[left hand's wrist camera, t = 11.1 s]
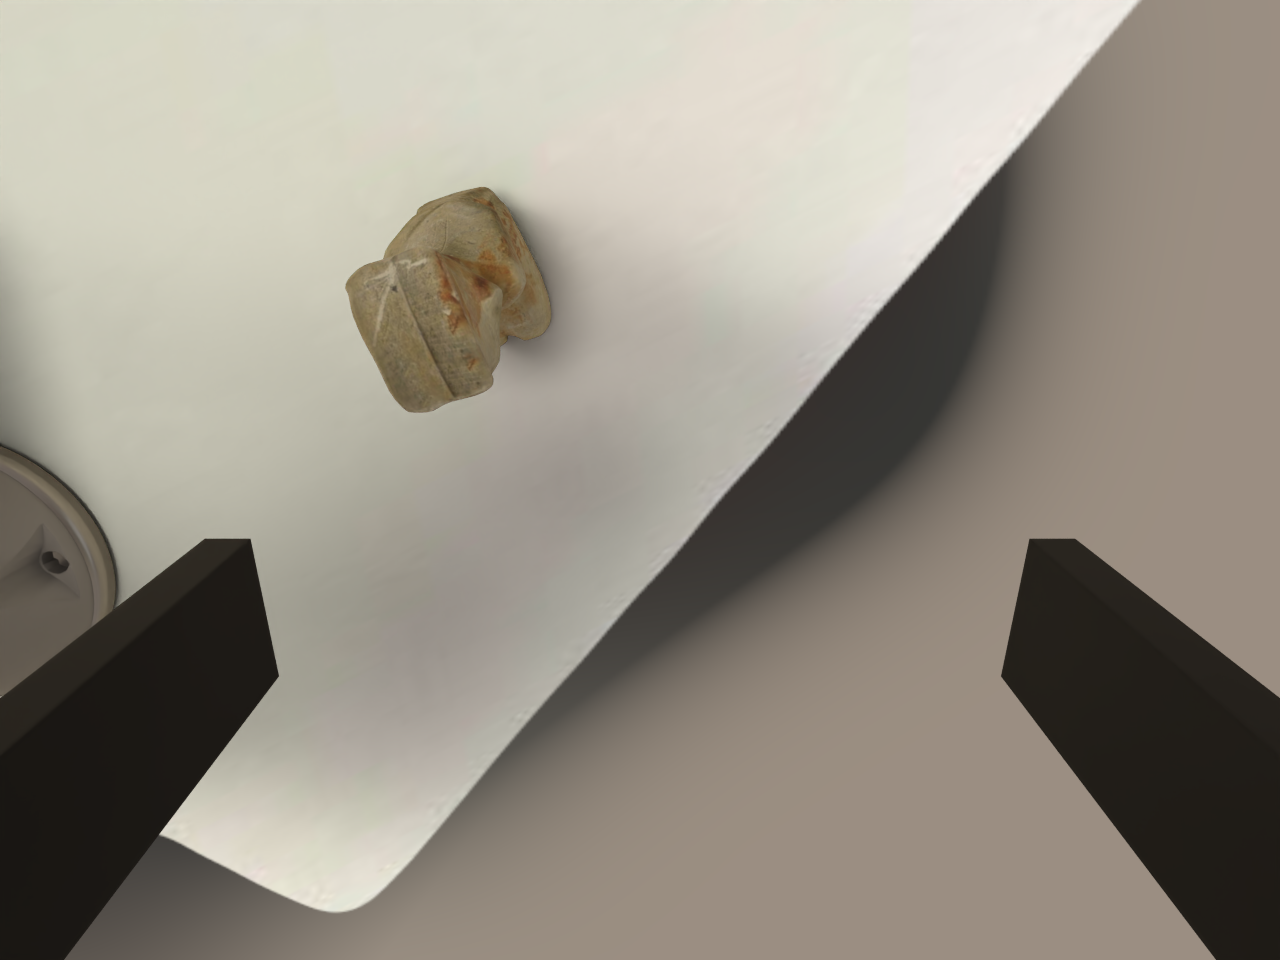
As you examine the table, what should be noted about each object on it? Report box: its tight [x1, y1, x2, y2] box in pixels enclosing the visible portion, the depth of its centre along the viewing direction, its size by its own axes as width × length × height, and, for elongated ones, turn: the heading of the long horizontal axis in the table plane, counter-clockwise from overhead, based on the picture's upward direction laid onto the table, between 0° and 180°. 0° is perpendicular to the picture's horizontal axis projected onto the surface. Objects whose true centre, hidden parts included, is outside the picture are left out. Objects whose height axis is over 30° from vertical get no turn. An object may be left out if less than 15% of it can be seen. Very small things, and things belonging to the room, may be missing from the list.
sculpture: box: [345, 187, 551, 413], centre depth 30 cm, size 6×7×15 cm
